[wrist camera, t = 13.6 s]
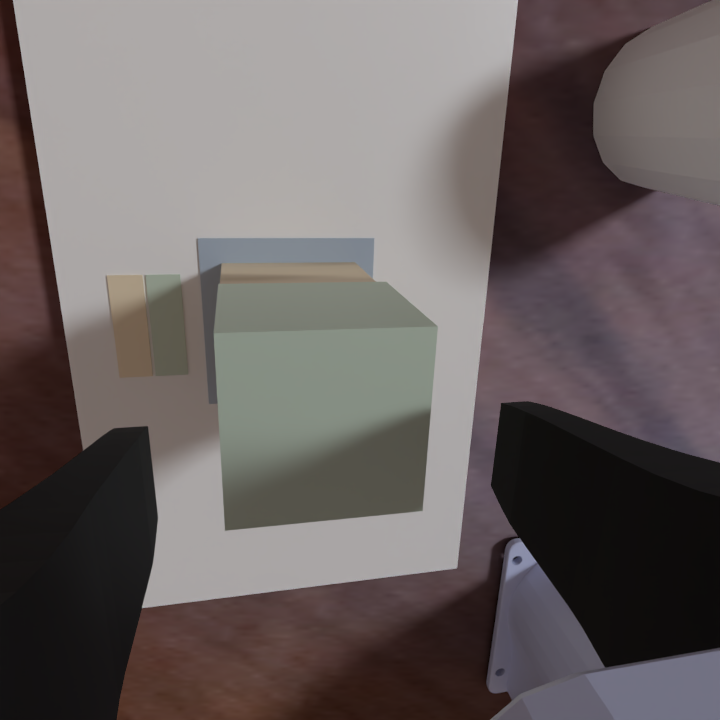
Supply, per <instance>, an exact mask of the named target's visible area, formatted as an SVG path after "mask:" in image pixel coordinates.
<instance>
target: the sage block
mask: <svg viewBox="0 0 720 720" xmlns="http://www.w3.org/2000/svg"><path fill="white" fill-rule="evenodd" d="M437 332H438V326H437V325H436V324H435V323H433V322H432V321H431V320H430V319H429V318H428V317H426V316H425V315H424V314H423V313H422V312H421V311H419V310H418V309H417V308H416V307H415V306H414V305H413V304H411V303H410V302H409V301H408V300H407V299H406V298H404V297H403V296H402V295H401V294H400V293H399V292H398V291H396V290H395V289H394V288H393V287H392V286H391V285H389V284H388V283H387V282H319V283H241V284H218V293H217V303H216V313H215V324H214V350H215V367H216V384H217V401H218V419H219V436H220V453H221V470H222V488H223V505H224V522H225V531H228V530H238V529H248V528H258V527H268V526H278V525H288V524H298V523H308V522H318V521H328V520H338V519H349V518H359V517H369V516H379V515H389V514H399V513H409V512H419V511H423V500H424V488H425V476H426V464H427V452H428V440H429V428H430V416H431V404H432V392H433V380H434V368H435V356H436V344H437Z"/></svg>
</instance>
